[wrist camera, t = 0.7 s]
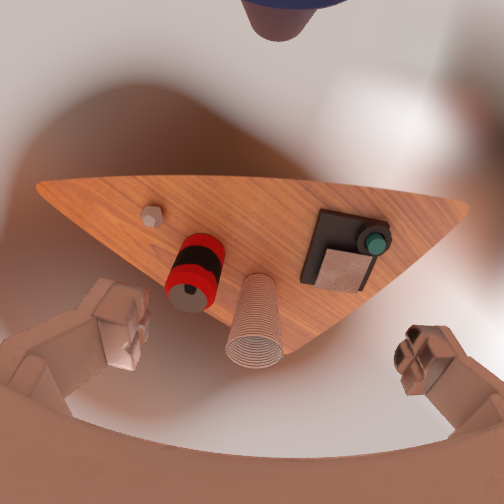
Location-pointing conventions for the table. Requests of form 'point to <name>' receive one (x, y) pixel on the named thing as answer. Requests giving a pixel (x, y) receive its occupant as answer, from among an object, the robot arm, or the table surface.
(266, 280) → the cup
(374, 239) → the button
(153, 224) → the polyhedron
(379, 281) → the table surface
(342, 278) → the pan
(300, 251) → the table surface
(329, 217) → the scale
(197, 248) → the soda can
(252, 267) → the table surface
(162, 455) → the robot arm
